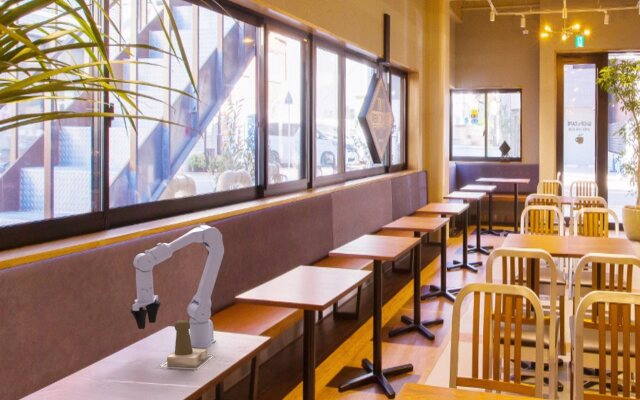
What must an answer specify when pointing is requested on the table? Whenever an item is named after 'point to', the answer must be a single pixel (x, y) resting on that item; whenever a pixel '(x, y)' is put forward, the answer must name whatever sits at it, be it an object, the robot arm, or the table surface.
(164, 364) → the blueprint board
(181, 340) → the cork
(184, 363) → the birch block
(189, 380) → the table surface
